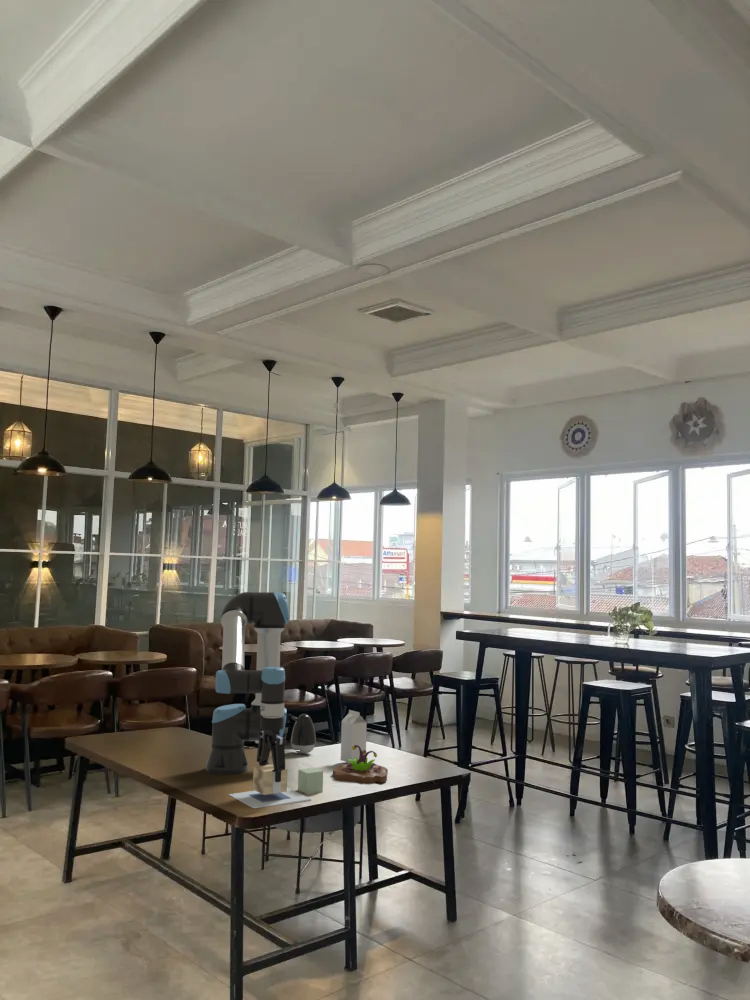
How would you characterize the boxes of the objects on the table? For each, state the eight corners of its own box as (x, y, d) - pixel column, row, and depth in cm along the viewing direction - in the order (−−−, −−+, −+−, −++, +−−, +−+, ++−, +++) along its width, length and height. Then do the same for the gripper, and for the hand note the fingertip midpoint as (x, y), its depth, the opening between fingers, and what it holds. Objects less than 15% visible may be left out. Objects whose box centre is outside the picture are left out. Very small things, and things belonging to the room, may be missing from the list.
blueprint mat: (228, 797, 259) (228, 793, 259) (284, 789, 270) (284, 786, 270) (253, 811, 244) (253, 807, 244) (310, 802, 255) (311, 798, 255)
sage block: (297, 791, 269) (298, 769, 269) (313, 788, 272) (314, 767, 273) (306, 795, 264) (307, 773, 264) (322, 793, 267) (323, 771, 268)
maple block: (252, 789, 258) (253, 766, 259) (275, 786, 263) (275, 764, 264) (264, 794, 252) (264, 771, 253) (286, 791, 256) (287, 768, 257)
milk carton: (355, 758, 319) (356, 709, 321) (365, 761, 313) (366, 711, 315) (340, 760, 315) (341, 710, 317) (350, 764, 309) (351, 713, 311)
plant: (335, 769, 302) (336, 738, 303) (388, 771, 300) (388, 740, 302) (330, 782, 282) (330, 750, 283) (386, 784, 281) (386, 751, 282)
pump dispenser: (289, 749, 333) (290, 711, 335) (314, 749, 334) (315, 711, 336) (290, 754, 323) (291, 716, 324) (316, 754, 324) (317, 716, 326)
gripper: (247, 712, 266) (245, 783, 264) (276, 721, 249) (274, 798, 247) (267, 710, 270) (265, 780, 268) (298, 720, 253) (296, 795, 251)
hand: (269, 789), depth 257 cm, fingers closed on maple block, 8 cm apart
